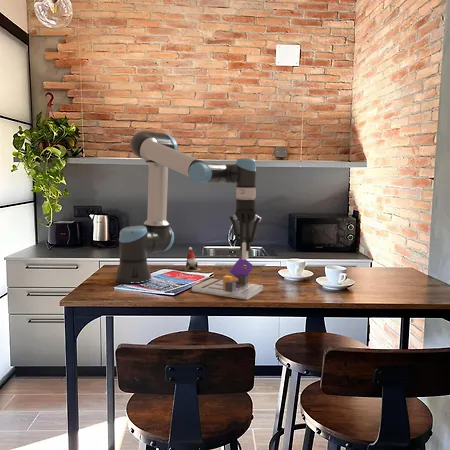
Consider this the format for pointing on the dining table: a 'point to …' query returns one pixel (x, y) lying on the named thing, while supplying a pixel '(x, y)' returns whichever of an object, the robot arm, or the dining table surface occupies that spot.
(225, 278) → the handle
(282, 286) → the dining table surface
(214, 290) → the panel
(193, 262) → the figurine
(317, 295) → the dining table surface
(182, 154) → the robot arm
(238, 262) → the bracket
